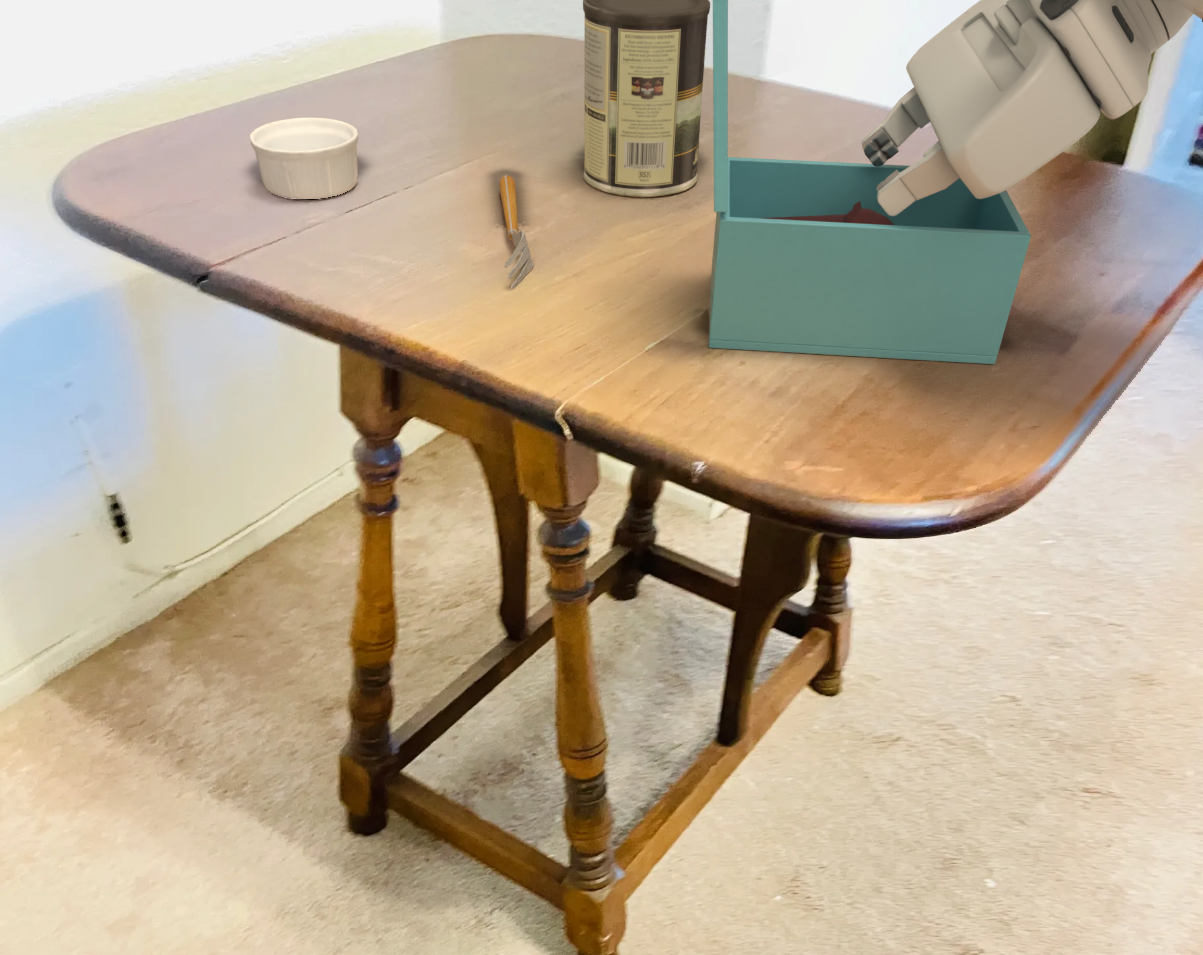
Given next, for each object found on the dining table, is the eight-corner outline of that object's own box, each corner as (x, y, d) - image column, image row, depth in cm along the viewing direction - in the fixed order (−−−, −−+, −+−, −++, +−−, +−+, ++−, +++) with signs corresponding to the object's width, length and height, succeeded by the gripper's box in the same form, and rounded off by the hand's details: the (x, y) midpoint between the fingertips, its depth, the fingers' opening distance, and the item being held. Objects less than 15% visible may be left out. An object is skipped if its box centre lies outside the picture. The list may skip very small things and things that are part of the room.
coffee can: (661, 152, 101) (670, -18, 92) (719, 187, 94) (735, 7, 85) (562, 167, 97) (561, -9, 88) (615, 205, 91) (620, 19, 81)
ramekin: (385, 181, 94) (379, 129, 91) (311, 212, 88) (303, 157, 85) (312, 161, 98) (304, 110, 95) (236, 189, 92) (226, 136, 89)
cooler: (965, 288, 79) (995, 169, 74) (995, 364, 70) (1031, 235, 65) (711, 275, 80) (721, 156, 75) (708, 348, 71) (719, 219, 66)
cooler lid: (728, -197, 62) (714, -196, 62) (727, -178, 53) (711, -177, 53) (727, 149, 74) (715, 149, 74) (727, 212, 65) (713, 212, 65)
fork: (491, 171, 92) (502, 260, 76) (512, 165, 92) (528, 253, 76) (500, 200, 93) (512, 293, 78) (520, 194, 93) (537, 287, 78)
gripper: (1011, -63, 69) (833, 93, 76) (1093, 10, 53) (859, 199, 60) (1062, 17, 71) (885, 161, 78) (1154, 110, 56) (923, 279, 63)
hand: (874, 179), depth 69 cm, fingers open, 7 cm apart
